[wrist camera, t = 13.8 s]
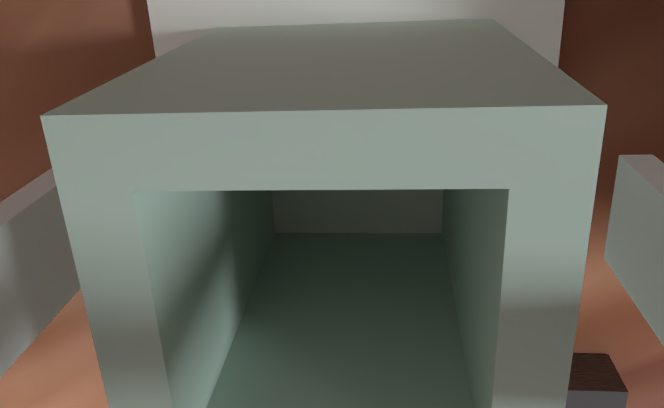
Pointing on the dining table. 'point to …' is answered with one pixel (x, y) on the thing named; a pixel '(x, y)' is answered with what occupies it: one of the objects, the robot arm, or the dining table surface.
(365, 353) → the sleeve
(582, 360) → the block with threaded rod
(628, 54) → the dining table surface
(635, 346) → the dining table surface
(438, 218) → the mat
